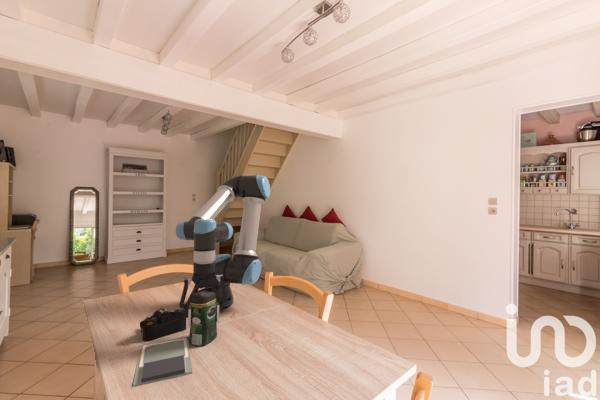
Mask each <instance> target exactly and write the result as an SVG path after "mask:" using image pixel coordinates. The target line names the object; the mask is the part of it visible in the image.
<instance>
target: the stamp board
mask: <svg viewBox="0 0 600 400" xmlns="http://www.w3.org/2000/svg"><path fill="white" fill-rule="evenodd" d="M151 346H152V347H151ZM146 347H150V348H149V349H147V350H146ZM182 355H184V358H185V361H186V371H187V373H184V374H179V375H175V376H171V377H166V378H162V379H158V380H153V381H149V382H145V383H140V378H141V372H142V367H143V366H144V363H148V362H153V361H158V360H162V359H167V358H172V357H177V356H182ZM137 357H138V358H137V362H136V368H135V373H134V378H133V382H132V387H136V386H137V387H138V386H141V385H146V384H150V383H155V382H160V381H164V380H168V379H173V378H178V377H182V376H187V375H191V374H193V365H192V360H191V359H192V357H191V351H190V343H189V338H188V337H183V338H178V339H177V338H176V339H172V340H171V339H170V340H167V341H160V342H159V341H158V342H155V343H150V344H145V345H142V349H141V354H139V355H138V356H137Z"/></svg>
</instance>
